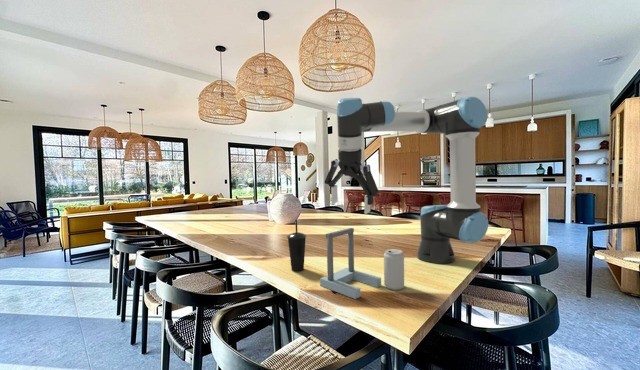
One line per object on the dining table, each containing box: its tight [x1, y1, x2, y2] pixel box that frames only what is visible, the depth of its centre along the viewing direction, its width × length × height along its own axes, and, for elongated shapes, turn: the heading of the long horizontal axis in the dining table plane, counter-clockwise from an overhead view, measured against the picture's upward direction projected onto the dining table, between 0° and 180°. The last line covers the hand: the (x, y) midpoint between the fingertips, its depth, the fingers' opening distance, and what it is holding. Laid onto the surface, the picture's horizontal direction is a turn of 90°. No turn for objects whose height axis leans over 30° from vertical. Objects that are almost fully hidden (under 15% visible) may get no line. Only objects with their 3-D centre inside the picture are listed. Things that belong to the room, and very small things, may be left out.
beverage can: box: [383, 248, 405, 291], centre depth 90 cm, size 6×6×12 cm
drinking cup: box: [286, 219, 307, 272], centre depth 109 cm, size 8×8×20 cm
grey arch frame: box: [319, 227, 382, 300], centre depth 92 cm, size 15×14×18 cm
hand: (350, 207), depth 96 cm, fingers open, 13 cm apart
